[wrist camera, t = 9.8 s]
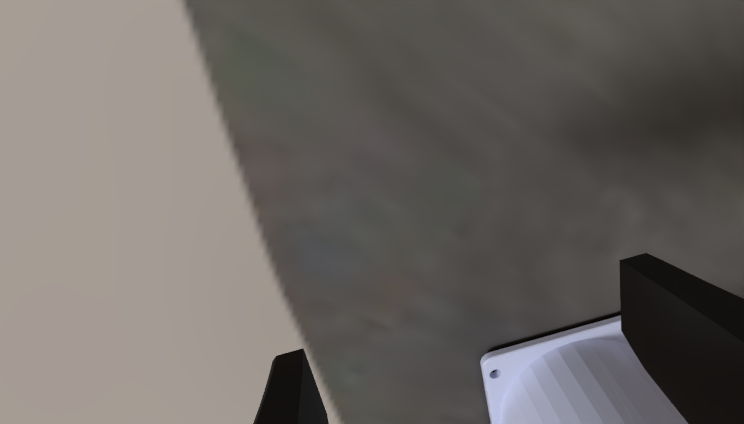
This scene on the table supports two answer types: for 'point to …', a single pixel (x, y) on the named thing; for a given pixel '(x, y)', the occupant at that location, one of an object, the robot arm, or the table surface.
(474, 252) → the table surface
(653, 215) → the table surface
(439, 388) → the table surface
